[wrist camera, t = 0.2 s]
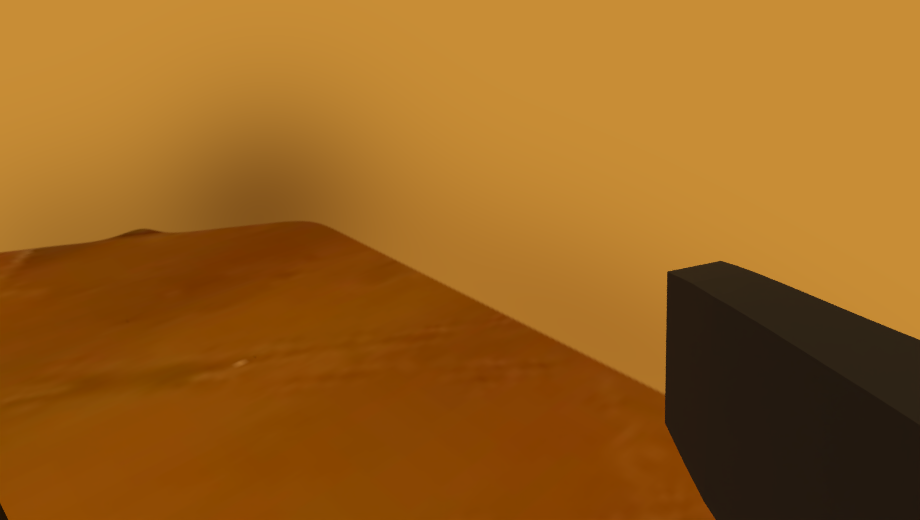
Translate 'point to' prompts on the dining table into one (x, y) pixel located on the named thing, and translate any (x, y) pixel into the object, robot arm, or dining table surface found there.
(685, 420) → the robot arm
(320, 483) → the dining table surface
